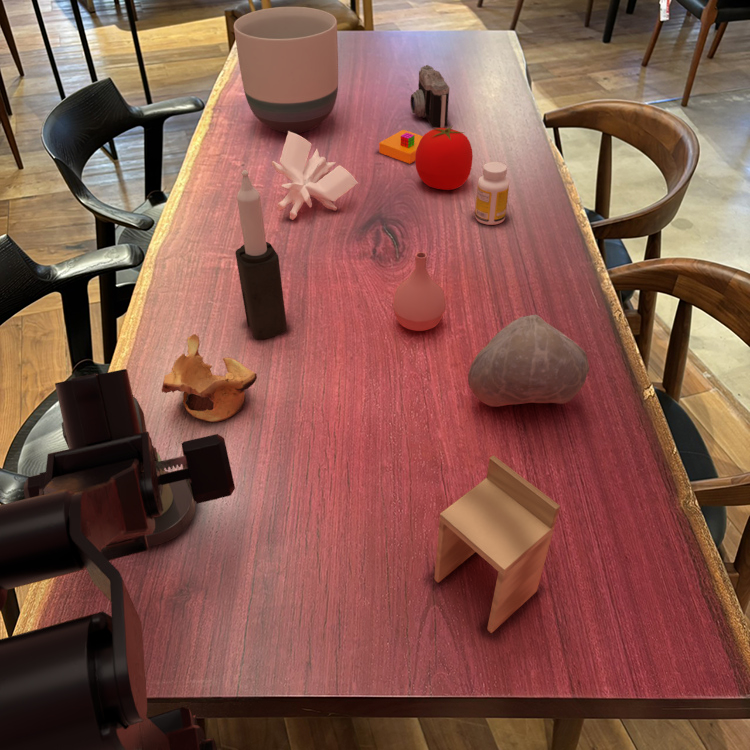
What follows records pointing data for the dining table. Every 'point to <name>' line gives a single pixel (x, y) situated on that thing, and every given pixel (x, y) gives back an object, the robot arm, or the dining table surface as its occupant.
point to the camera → (431, 97)
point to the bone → (209, 383)
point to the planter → (289, 66)
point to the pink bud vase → (419, 299)
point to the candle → (258, 268)
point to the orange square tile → (401, 146)
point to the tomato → (444, 158)
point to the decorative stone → (528, 365)
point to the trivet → (174, 515)
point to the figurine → (310, 176)
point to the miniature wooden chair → (499, 536)
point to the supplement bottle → (492, 194)
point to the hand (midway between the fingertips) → (143, 479)
